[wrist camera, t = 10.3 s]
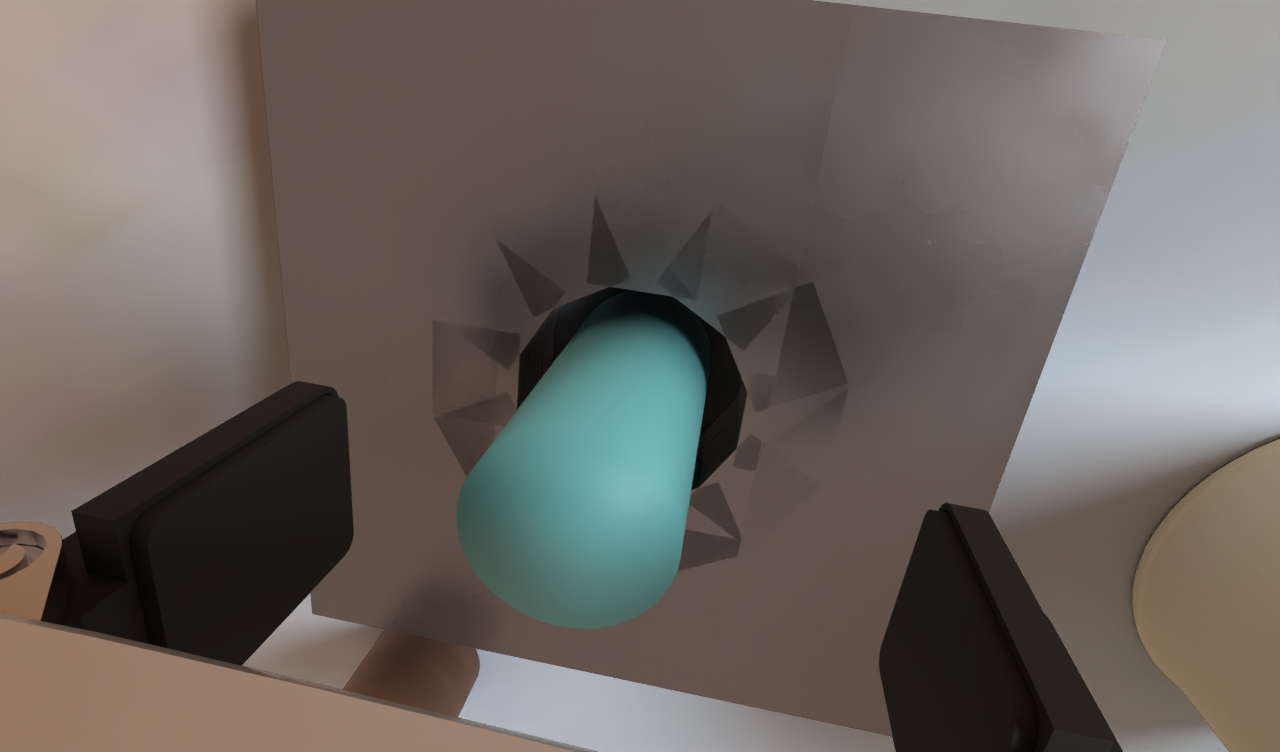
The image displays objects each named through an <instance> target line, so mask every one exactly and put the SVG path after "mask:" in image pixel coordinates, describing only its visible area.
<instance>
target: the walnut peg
mask: <svg viewBox="0 0 1280 752" xmlns="http://www.w3.org/2000/svg"><path fill="white" fill-rule="evenodd" d="M479 667H480V664H479V657H478V654H477V651H476V649H475V648H472V647H467V646H462V645H458V644H453V643H448V642H443V641H439V640H434V639H429V638H425V637H420V636H415V635H410V634H406V633H401V632H396V631H391V630H387V629H385V630H384V631H383V633H382V634H381V635H380V637H379V638H378V640H377V641H376V643H375V644H374V645H373V647H372V648H371V650H370V651H369V653H368V654H367V655H366V657H365V658H364V660H363V661H362V663H361V664H360V666H359V667H358V668H357V670H356V671H355V673H354V674H353V676H352V677H351V678H350V680H349V681H348V683H347V684H346V686H345V687H344V688H343V690H346V691H350V692H354V693H358V694H362V695H367V696H371V697H375V698H379V699H383V700H387V701H391V702H395V703H400V704H404V705H408V706H412V707H416V708H420V709H424V710H429V711H433V712H437V713H441V714H445V715H449V716H453V717H458V716H459V714H460V712H461V710H462V708H463V706H464V703H465V701H466V699H467V697H468V695H469V693H470V691H471V689H472V687H473V685H474V683H475V680H476V678H477V676H478V673H479Z"/></svg>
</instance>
